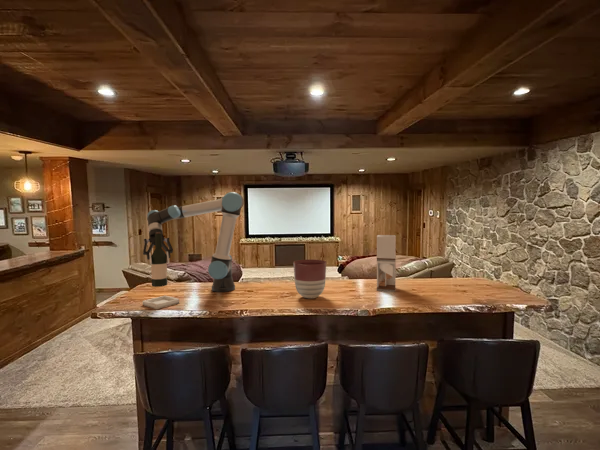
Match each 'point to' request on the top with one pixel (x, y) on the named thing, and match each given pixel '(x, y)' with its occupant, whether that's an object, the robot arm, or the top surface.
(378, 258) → the beige dispenser tower
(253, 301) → the top surface
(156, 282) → the wine bottle
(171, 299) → the grey dish
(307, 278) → the planter
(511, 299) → the top surface
